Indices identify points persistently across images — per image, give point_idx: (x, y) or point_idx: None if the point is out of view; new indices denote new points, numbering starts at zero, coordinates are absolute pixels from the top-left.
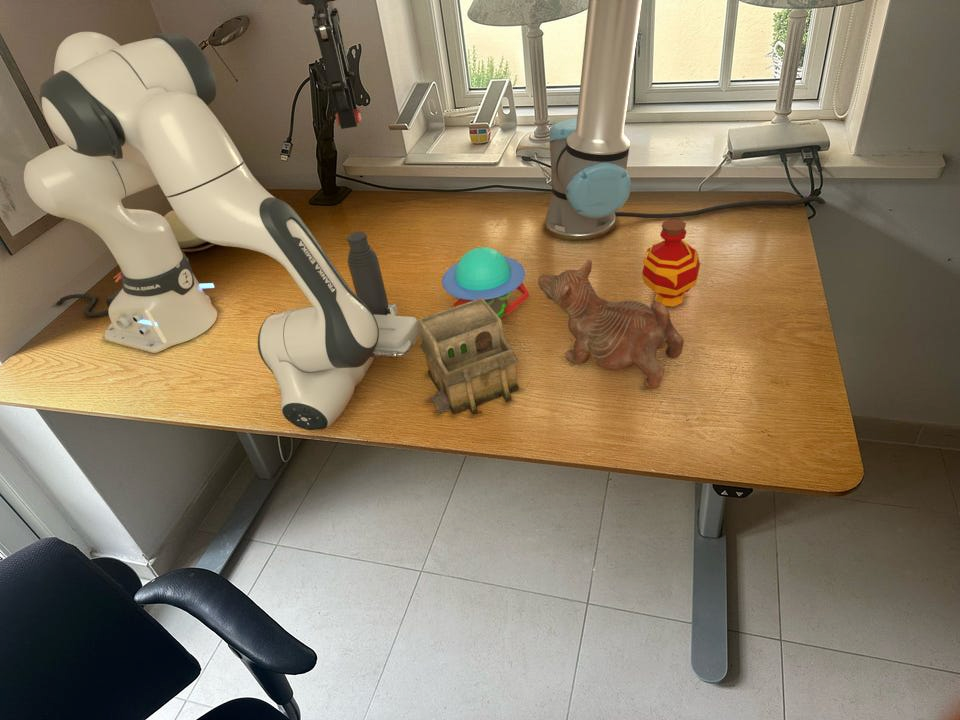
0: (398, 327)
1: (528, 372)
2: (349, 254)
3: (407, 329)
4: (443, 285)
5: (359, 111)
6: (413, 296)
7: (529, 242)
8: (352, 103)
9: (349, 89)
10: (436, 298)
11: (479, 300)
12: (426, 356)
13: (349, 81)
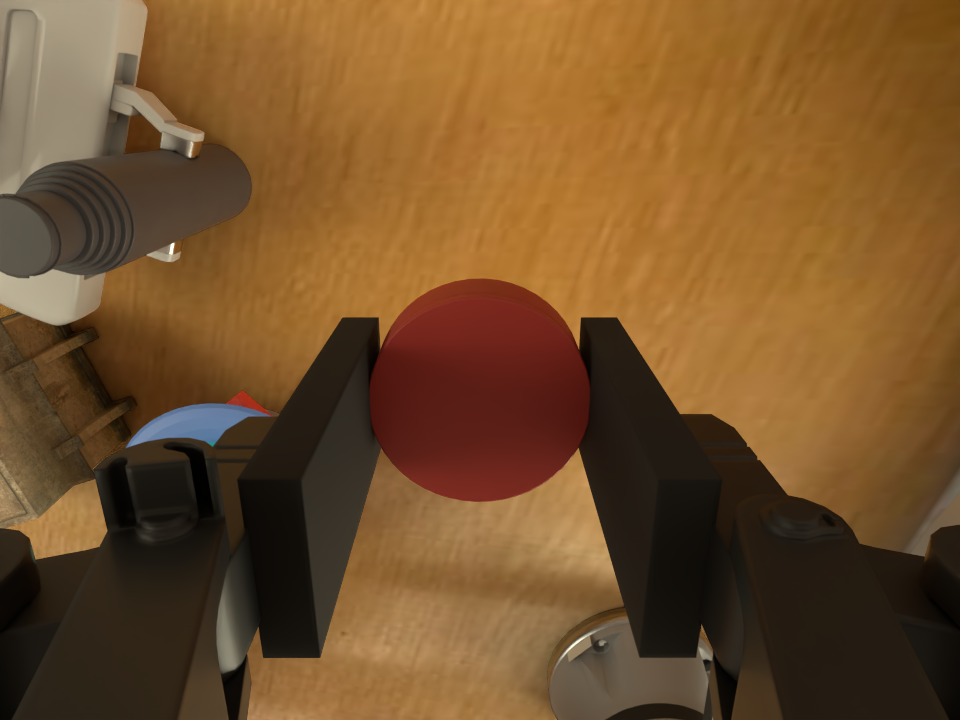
0: (15, 277)
1: (62, 497)
2: (35, 182)
3: (4, 302)
4: (191, 408)
5: (472, 500)
6: (404, 267)
7: (591, 562)
8: (594, 470)
9: (618, 551)
10: (380, 327)
11: (25, 510)
12: (7, 322)
13: (636, 630)
